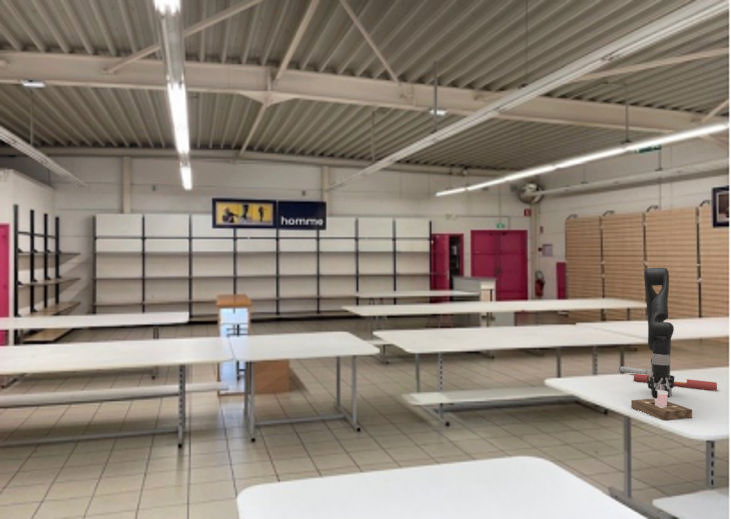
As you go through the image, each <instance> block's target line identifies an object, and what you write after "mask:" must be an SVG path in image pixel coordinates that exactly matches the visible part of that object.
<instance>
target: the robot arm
mask: <svg viewBox="0 0 731 519" xmlns="http://www.w3.org/2000/svg"><path fill="white" fill-rule="evenodd" d="M643 276H644V277H643V278H644V285H645V291H646V292H645V293H646V294H645V295H646V296H645V297H646V317H647V326H648V327H647V329H648V330H647V344H648V346H647V347H648V349H649V350H650V351H652V354H651V355H652V357H651V358H650V369H651V377H649V376H648V377H647V380H648V383H647V387H648V389H649V390H650V395H652V399H655V398H657V392H658V391H657V390H660V384H662V385H661V390H664V391H667V392H668V395H667V398H670V397H671V396H672V393H673V392H672V391H673V390H672V389H674V387H675V386H674V381H675V375H671V349H672V348H671V346H672V337H673V334H674V331H675V330H674V329H675V328H674V325H673V323H671V322H670V321H669V322H668V321H666V320H667V319H668V318H669V306H668V305H669V304H668V303H669V302H668V301H669V289H670V274H669V270H668V268H667V267H648V268H645V270H644V274H643ZM653 286H656V287H657V286H661V288H660V290H659V292H658V293H657V292H656V291H655V289H654V287H653Z"/></svg>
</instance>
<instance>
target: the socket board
mask: <svg viewBox="0 0 731 519" xmlns="http://www.w3.org/2000/svg"><path fill="white" fill-rule="evenodd" d="M630 402H631V404H630V405H631V406H630V407H631V409H632V408H633V410H635V409H636V410H635V411H637V410H639V411H638V412H640V411H642V412H641V413H643V412H644V413H643V414H645V413H646V415H648V414H649V415H648V416H651V417H653V416H654V418H656V419H659V420H662V421H672V420H685V418H686V419H692V418H693V409H692V408H689V407H686V406H683V405H680V404H676V403H673V402H670V401H668V400H667V407H659V406H656V405H655V398H643V399H633V400H632V399H631V400H630Z"/></svg>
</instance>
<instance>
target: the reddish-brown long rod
mask: <svg viewBox="0 0 731 519" xmlns="http://www.w3.org/2000/svg"><path fill="white" fill-rule="evenodd" d="M648 376H649V377H651V375H645V374H637V373H633V382H634V381H637V382H636V383H642V382H643V383H644V384H648V380H647V377H648ZM643 383H642V384H643ZM676 386H677V387H678V388H685V387H686V389H687V388H688V389H694V388H695V389H696V390H702V389H704V390H705V391H711V390H718V383H717V382H716V381H707V380H697V379H688V378H686V382H684V381H683V382H681V381H675V380H674V387H676ZM695 389H694V390H695Z"/></svg>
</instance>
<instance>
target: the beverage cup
mask: <svg viewBox="0 0 731 519" xmlns="http://www.w3.org/2000/svg"><path fill="white" fill-rule="evenodd" d="M661 385H662V384H660V390H657V391H658V392H657V398H654V399H655V405H656V406H659V407H667V401H668V397H667V395H668V392H667V391H664V390H661Z"/></svg>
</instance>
